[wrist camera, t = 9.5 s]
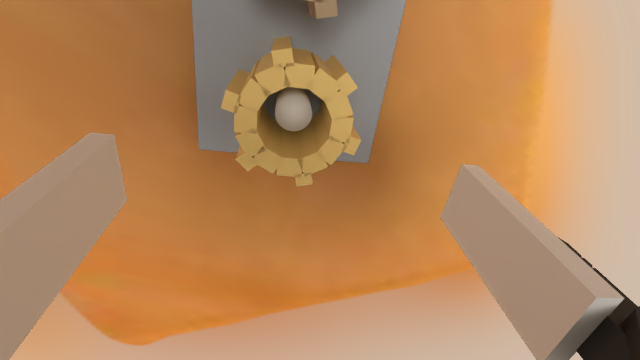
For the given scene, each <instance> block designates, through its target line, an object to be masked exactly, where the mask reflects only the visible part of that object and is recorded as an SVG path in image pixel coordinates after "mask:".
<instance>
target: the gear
mask: <svg viewBox="0 0 640 360" xmlns="http://www.w3.org/2000/svg"><path fill="white" fill-rule="evenodd" d="M306 1H308V9H309V14H310V15H312V16H313V17H315V18H316V19H320V18H327V17H334V16H338V12H337V1H336V0H306Z"/></svg>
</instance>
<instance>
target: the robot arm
mask: <svg viewBox="0 0 640 360" xmlns="http://www.w3.org/2000/svg"><path fill="white" fill-rule="evenodd" d="M126 201H127V197H126V191H125V186H124V181H123V176H122V171H121V166H120V160H119V155H118V150H117V145H116V140H115V135H114V134H103V133H91V132H90V133H89V134H87V135H86V136H85V137H83V138H82V139H81V140H79V141H78V142H77V143H75V144H74V145H73V146H71V147H70V148H69V149H67V150H66V151H65V152H63V153H62V154H61V155H59V156H58V157H57V158H55V159H54V160H53V161H51V162H50V163H49V164H47V165H46V166H45V167H43V168H42V169H41V170H39V171H38V172H37V173H35V174H34V175H33V176H31V177H30V178H29V179H27V180H26V181H25V182H23V183H22V184H20V185H19V186H18V187H16V188H15V189H14V190H12V191H11V192H10V193H8V194H7V195H6V196H4V197H3V198H2V199H0V360H9V359H10V358H11V356H12V355H13V354H14V352H15V351H16V350H17V348H18V347H19V346H20V344H21V343H22V342H23V340H24V339H25V338H26V336H27V335H28V333H29V332H30V330H31V329H32V328H33V327H34V325H35V324H36V323H37V321H38V320H39V318H40V317H41V316H42V315H43V313H44V312H45V310H46V309H47V308H48V306H49V305H50V304H51V302H52V301H53V300H54V298H55V297H56V295H57V294H58V293H59V292H60V290H61V289H62V288H63V286H64V285H65V283H66V282H67V281H68V279H69V278H70V277H71V275H72V274H73V273H74V271H75V270H76V269H77V267H78V266H79V265H80V263H81V262H82V260H83V259H84V258H85V256H86V255H87V254H88V252H89V251H90V250H91V248H92V247H93V246H94V244H95V243H96V242H97V240H98V239H99V237H100V236H101V235H102V233H103V232H104V231H105V229H106V228H107V227H108V225H109V224H110V223H111V221H112V220H113V219H114V217H115V216H116V215H117V213H118V212H119V210H120V209H121V208H122V206H123V205H124V204H125V202H126ZM440 218H441V220H442V221H443V223H444V224H445V226H446V227H447V229H448V230H449V232H450V233H451V235H452V236H453V238H454V239H455V240H456V242H457V243H458V245H459V246H460V248H461V249H462V251H463V252H464V254H465V255H466V257H467V258H468V260H469V261H470V263H471V264H472V266H473V267H474V269H475V270H476V271H477V273H478V274H479V276H480V277H481V279H482V280H483V282H484V283H485V285H486V286H487V287H488V289H489V291H490V292H491V294H492V295H493V297H494V298H495V299H496V301H497V302H498V304H499V305H500V307H501V308H502V310H503V311H504V313H505V314H506V316H507V317H508V319H509V320H510V321H511V323H512V324H513V326H514V328H515V329H516V331H517V332H518V333H519V335H520V336H521V338H522V339H523V341H524V342H525V344H526V345H527V347H528V348H529V350H530V351H531V353H532V354H533V356H534V357H535V358H536V360H569V359H570V358H571V357H572V356H573V355H574V354H575V352H576V351H577V352H578V353H579V355H580V356H581V357H582V358H583V360H640V306H639V307H638V306H636V305H635V304H634V303H633V302H632V301H631V300H630V299H629V298H628V297H626V296H625V295H624V294H623V293H622V292H621V291H620V290H619V289H618V288H617V287H616V286H614V285H613V284H612V283H611V282H610V281H609V280H608V279H607V278H606V277H604V276H603V275H602V274H601V273H600V272H599V271H598V270H597V269H596V268H592V265H591V264H590V263H589V262H588V261H587V260H586V259H584V258H581V255H580V254H579V253H578V252H577V251H576V250H574V249H573V248H572V247H571V246H570V245H569V244H568V243H566V242H565V241H563V240H561V239H560V238H558V237H557V236H556V235H555V234H554V233H552V232H551V231H550V230H549V229H548V228H547V227H545V225H544V224H543V223H542V222H540V221H539V220H538V219H537V218H536V217H535V216H534V215H533V214H532V213H531V212H529V211H528V210H527V209H526V208H525V207H524V206H523V205H522V204H521V203H520V202H519V201H517V200H516V199H515V198H514V197H513V196H512V195H511V194H510V193H509V192H508V191H506V190H505V189H504V188H503V187H502V186H501V185H500V184H499V183H498V182H497V181H496V180H494V179H493V178H492V177H491V176H490V175H489V174H488V173H487V172H486V171H485V170H483V169H482V168H481V167H480V166H479V165H467V164H462V165H461V168H460V170H459V173H458V175H457V178H456V180H455V183H454V185H453V188H452V190H451V192H450V195H449V197H448V200H447V202H446V205H445V207H444V210H443V212H442V215H441V217H440Z"/></svg>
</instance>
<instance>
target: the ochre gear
mask: <svg viewBox="0 0 640 360" xmlns="http://www.w3.org/2000/svg"><path fill="white" fill-rule="evenodd" d="M286 87H294V88H302V89H309V90H310V91H312V92H313V93H314V94H316V95H317V96H318V97H320V98H321V104H320V109H319V110H318V111H317V113H316V114H315V115H314V117H313V118H312V119H311V121H310V123H309V124H308V125H307V126H306V127H305V128H304V129H302V130H300V131H288V130H285V129H284V128H282V127H281V126H280V125H279V124H278V122H277V121H276V120H275V119H274V118H272V117H271V116H269V114H268V112H267V110H266V108H265V106H264V104H263V103H264V101H265V100H266V98H267V97H268V95H270V94H273V93H275V92H277V91H279V90H282V89H284V88H286ZM357 88H358V87H357V85H356V84H355V82H354V81H353V80H352V78H351V77H350V75H349V74H348V72H347V71H346V70H345V69H344V67H343V66H342V65H341V64H340V62H339V61H338V60H337V59H336V58H335V56H334V55H333V56H331V57H330V58H329V59H328V60H326V61H325V62H324V61H323V60H322V59H321V58H319V57H318V56H317V55H316V54H314V53H313V52H311V53H310V52H309V50H305V49H298V48H292V44H291V38H290V36H285V37H278V38H274V41H273V45H272V49H271V53H269V54H266V55H264V56H262V57H261V59H260V60H259V59H258V61H257V62H256V64H255V65H254V67H253V69H252V70H251V72H250V73H249V72H246V71H244V70H241V69H239V70H238V71H237V73H236V74H235V76H234V78H233V79H232V81H231V82H230V84H229V86H228V87H227V89H226V91H225V94H224V98H223V101H222V105H221V108H222V109H224V110H227V111H230V112H233V113H234V132H236V135H235V137H236V139H237V140H238V142H239V144H240V146H239V149H238V153H237V156H236V159H235V160H236V161H237V162H238V163H239V164H240V165H241V166H242V167H243V168H244V169H245V170H247V171H249V170H251V169H252V168H253V167H255V166H256V165H258V166H260V167H262V168H263V169H265V170H267V171H268V172H270V173H271V174H273V173H274V172H275V170H276V169H277V175H278V176H291V177H295V182H296V187H298V186H305V185H311V184H313V182H312V175H311V174H313V173H316V172H318V171H320V170H323V169H325V168H328V166H327V163H329V164H330V165H332V164H333V163H334V161H335V160H336V159H337V158H338V157H339V156H340V154H341V153H342V152H345V153H348V154H351V155H354V154H355V152H356V150H357V148H358V146H359V144H360V142H361V139H360V137H359V135H358V133H357V131H356V129H355V127H354V126H353V120H354V118H353V116H352V115H353V111H352V108H351V105H350V103H349V100H348V97H347V96H348V95H349V94H351V93H352V92H353V91H354V90H356V89H357Z"/></svg>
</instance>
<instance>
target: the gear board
mask: <svg viewBox="0 0 640 360" xmlns="http://www.w3.org/2000/svg"><path fill="white" fill-rule="evenodd" d="M336 1H337V12H338V16H334V17H327V18H320V19H316V18H315V17H313V16H312V15H310V14H309V9H308V1H306V0H192V19H193V39H194V59H195V79H196V100H197V120H198V140H199V149H200V150H212V151H224V152H236V153H238V149H239V146H240V144H239V142H238V140H237V139H236V137H235V135H236V132H234V113H233V112H230V111H227V110H224V109H222V108H221V105H222V101H223V98H224V94H225V91H226V89H227V87H228V86H229V84H230V82H231V81H232V79H233V78H234V76H235V74H236V73H237V71H238V70H239V69H241V70H244V71H246V72H249V73H250V72H251V70H252V69H253V67H254V65H255V64H256V62H257V61H258V59H259V60H260V59H261V57H262V56H264V55H266V54H269V53H271V49H272V45H273V41H274V38H278V37H285V36H290V38H291V44H292V48H298V49H305V50H309V52H310V53H311V52H313V53H314V54H316V55H317V56H318V57H319V58H321V59H322V60H323V61H324V62H325V61H326V60H328V59H329V58H330V57H331V56H333V55H334V56H335V58H336V59H337V60H338V61H339V62H340V64H341V65H342V66H343V67H344V69H345V70H346V71H347V72H348V74H349V75H350V77H351V78H352V80H353V81H354V82H355V84H356V85H357V87H358V88H357V89H356V90H354V91H353V92H352V93H351V94H349V95H348V96H347V97H348V100H349V103H350V105H351V108H352V111H353V115H352V116H353V118H354V120H353V126H354V127H355V129H356V131H357V133H358V135H359V137H360V139H361V142H360V144H359V146H358V148H357V150H356V152H355V154H354V155H351V154H348V153H345V152H342V153H341V154H340V156H339V157H338V158H337V159H336V160H335V161H345V162H357V163H368V161H369V157H370V153H371V148H372V144H373V140H374V135H375V131H376V127H377V123H378V118H379V114H380V110H381V105H382V101H383V97H384V93H385V88H386V84H387V80H388V76H389V71H390V67H391V63H392V58H393V54H394V50H395V46H396V41H397V37H398V33H399V28H400V24H401V20H402V16H403V11H404V7H405V3H406V0H336ZM263 104H264V106H265V108H266V110H267V112H268V114H269V116H271V117H272V118H274V119H275V120H276V121H277V122H278V124H279V125H280V126H281V127H282V128H284V129H285V130H288V131H300V130H302V129H304V128H305V127H306V126H307V125H308V124H309V123H310V121H311V119H312V118H313V117H314V115H315V114H316V113H317V111H318V110H319V109H320V104H321V98H320V97H318V96H317V95H316V94H314V93H313V92H312V91H310V90H309V89H302V88H294V87H286V88H284V89H282V90H279V91H277V92H275V93H273V94H270V95H268V97H267V98H266V100H265V101H264V103H263Z"/></svg>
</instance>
